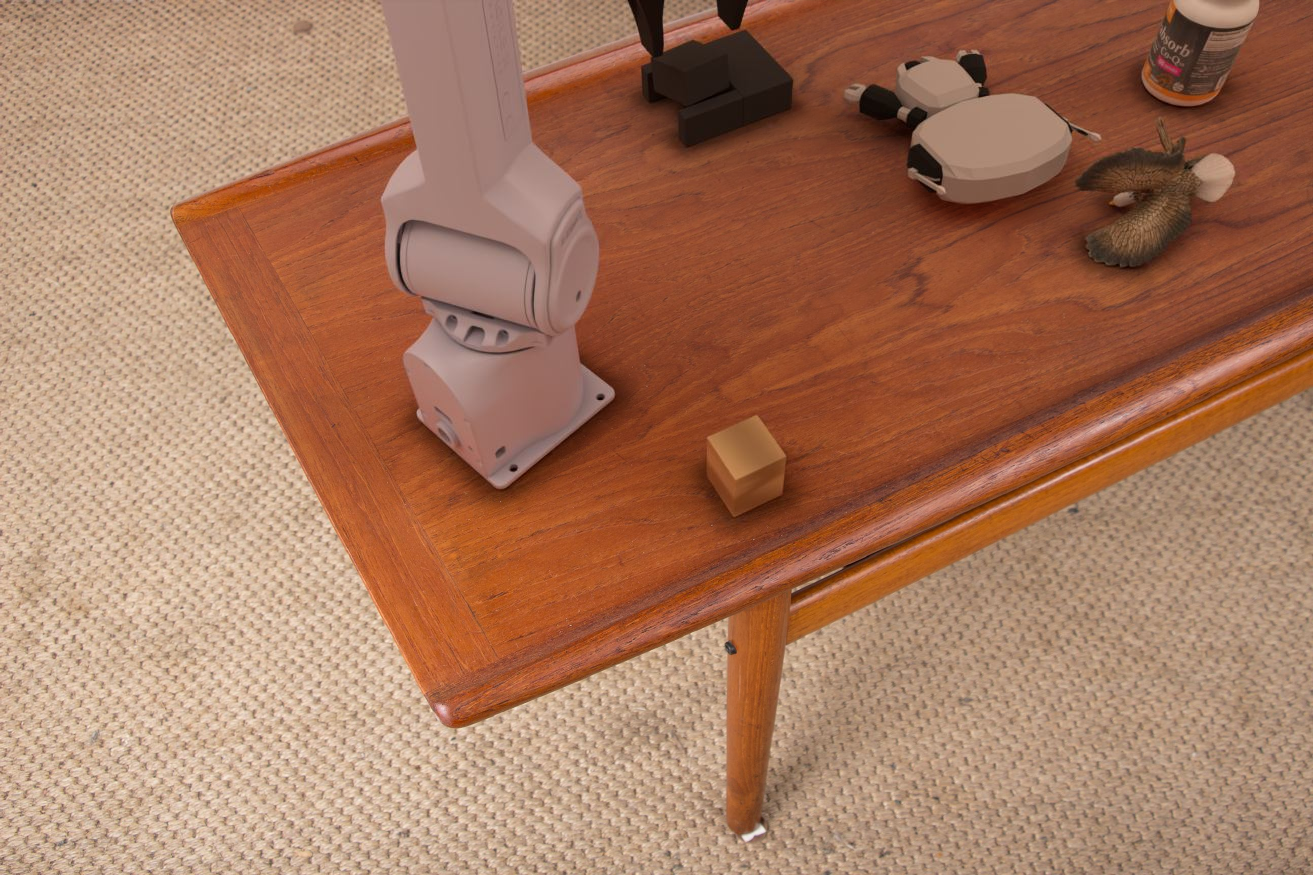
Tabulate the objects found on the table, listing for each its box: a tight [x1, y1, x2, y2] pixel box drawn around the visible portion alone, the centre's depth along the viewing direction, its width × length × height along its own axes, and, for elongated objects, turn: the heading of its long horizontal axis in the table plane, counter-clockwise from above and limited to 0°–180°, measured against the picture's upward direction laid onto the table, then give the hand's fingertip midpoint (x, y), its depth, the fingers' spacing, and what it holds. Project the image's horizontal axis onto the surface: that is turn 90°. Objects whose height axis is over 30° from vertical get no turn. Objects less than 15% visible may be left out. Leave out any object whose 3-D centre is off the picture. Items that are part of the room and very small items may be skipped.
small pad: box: [650, 39, 730, 107], centre depth 78 cm, size 4×4×3 cm
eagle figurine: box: [1073, 115, 1236, 268], centre depth 70 cm, size 8×7×9 cm
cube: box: [706, 414, 787, 518], centre depth 60 cm, size 3×3×4 cm
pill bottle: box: [1141, 0, 1260, 107], centre depth 76 cm, size 6×6×10 cm
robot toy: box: [843, 49, 1102, 205], centre depth 75 cm, size 12×4×15 cm
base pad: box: [640, 28, 794, 148], centre depth 80 cm, size 9×7×3 cm
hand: (690, 36), depth 75 cm, fingers open, 6 cm apart
